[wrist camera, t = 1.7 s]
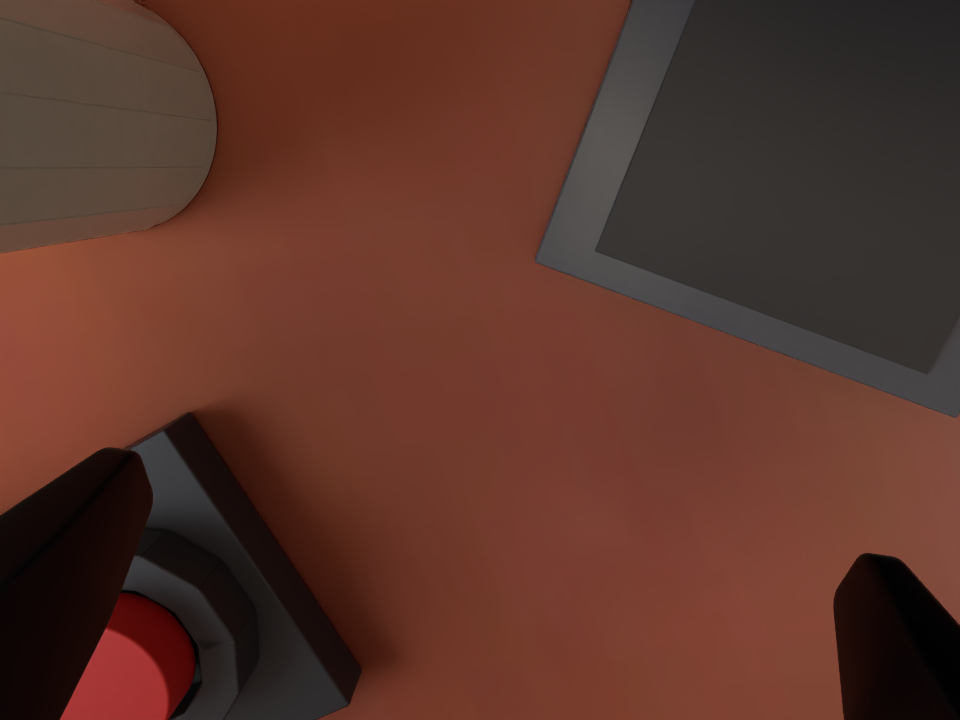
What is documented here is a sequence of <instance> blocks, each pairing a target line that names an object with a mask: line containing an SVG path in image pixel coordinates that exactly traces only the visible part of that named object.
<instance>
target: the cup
mask: <svg viewBox="0 0 960 720" xmlns="http://www.w3.org/2000/svg"><path fill="white" fill-rule="evenodd" d="M216 135H217V122H216V110H215V105H214V99H213V95H212V92H211V88H210V85H209V82H208V79H207V77H206V75H205V72H204V70H203V68H202V66H201V64H200V62H199V61H198V59H197V57H196V55H195V54H194V52H193V51H192V49H191V48H190V47H189V45H188V44H187V42H186V41H185V40H184V39H183V38H182V36H181V35H180V34H179V33H178V32H177V31H176V30H175V29H174V28H173V27H172V26H171V25H170V24H168V23H167V22H166V21H165V20H164V19H162V18H161V17H160V16H158V15H157V14H155V13H154V12H152V11H151V10H149V9H147V8H146V7H143V6H141V5H139V4H137V3H136V2H135V1H133V0H0V253H6V252H12V251H19V250H25V249H31V248H37V247H43V246H50V245H56V244H62V243H68V242H74V241H81V240H87V239H93V238H99V237H105V236H111V235H117V234H123V233H129V232H135V231H141V230H146V229H149V228H152V227H154V226H156V225H159V224H161V223H163V222H165V221H167V220H169V219H170V218H172V217H174V216H175V215H176V214H177V213H179V212H180V211H181V210H182V209H184V208H185V207H186V206H187V205H188V204H189V202H190V201H191V200H192V199H193V198H194V197H195V195H196V194H197V192H198V191H199V189H200V188H201V187H202V185H203V183H204V181H205V179H206V177H207V175H208V172H209V169H210V166H211V163H212V160H213V156H214V151H215V146H216Z"/></svg>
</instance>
